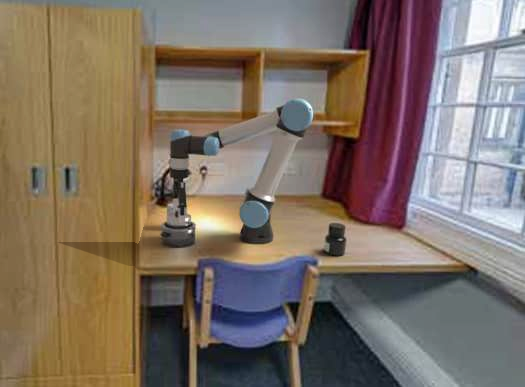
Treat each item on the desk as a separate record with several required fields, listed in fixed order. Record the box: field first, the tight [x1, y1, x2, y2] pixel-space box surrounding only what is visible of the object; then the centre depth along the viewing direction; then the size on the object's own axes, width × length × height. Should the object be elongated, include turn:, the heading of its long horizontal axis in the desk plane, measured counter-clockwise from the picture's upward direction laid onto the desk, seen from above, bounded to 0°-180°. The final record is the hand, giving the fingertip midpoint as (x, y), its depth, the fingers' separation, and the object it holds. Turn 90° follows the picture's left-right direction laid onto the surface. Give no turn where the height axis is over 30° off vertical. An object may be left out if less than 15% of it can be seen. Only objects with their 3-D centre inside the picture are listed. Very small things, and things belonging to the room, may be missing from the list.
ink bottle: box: [323, 222, 347, 257], centre depth 174 cm, size 10×9×12 cm
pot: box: [160, 220, 197, 249], centre depth 176 cm, size 18×14×8 cm
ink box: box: [166, 202, 188, 216], centre depth 193 cm, size 9×5×12 cm, turn 114°
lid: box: [166, 211, 192, 229], centre depth 175 cm, size 10×10×6 cm
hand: (178, 217), depth 175 cm, fingers open, 13 cm apart
